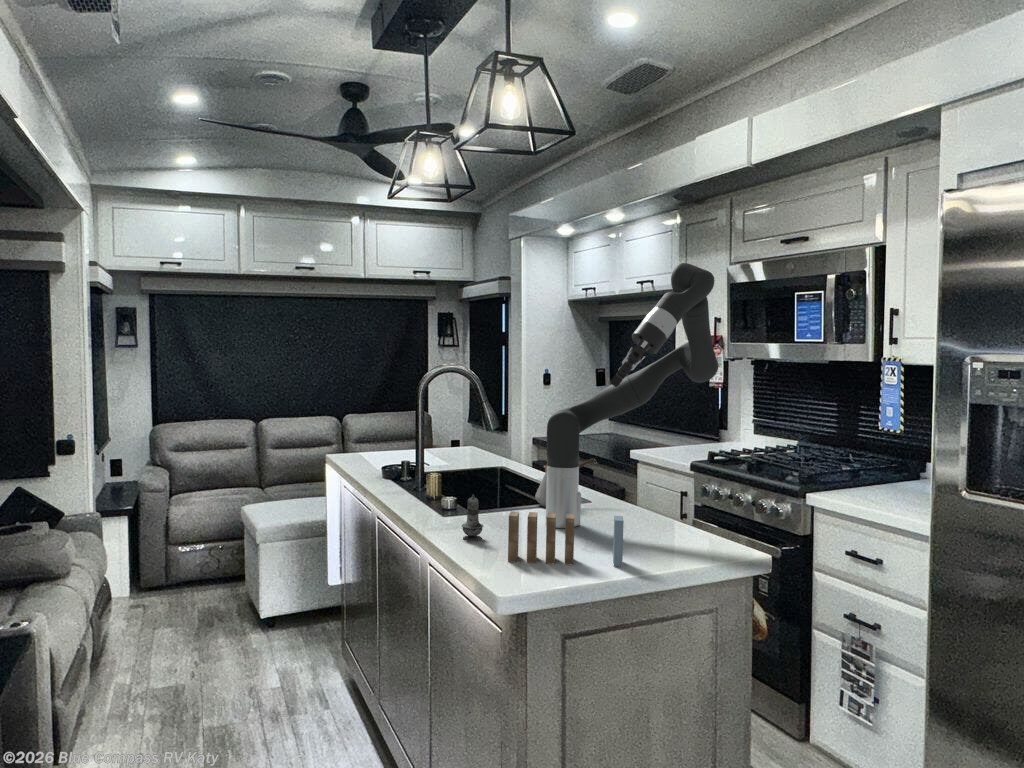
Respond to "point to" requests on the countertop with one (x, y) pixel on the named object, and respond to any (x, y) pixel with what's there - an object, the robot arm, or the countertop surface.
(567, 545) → the domino
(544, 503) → the coffee pot
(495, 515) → the countertop surface
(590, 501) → the countertop surface
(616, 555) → the blue domino
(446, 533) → the countertop surface
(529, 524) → the domino
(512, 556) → the domino
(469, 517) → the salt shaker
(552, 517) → the domino
